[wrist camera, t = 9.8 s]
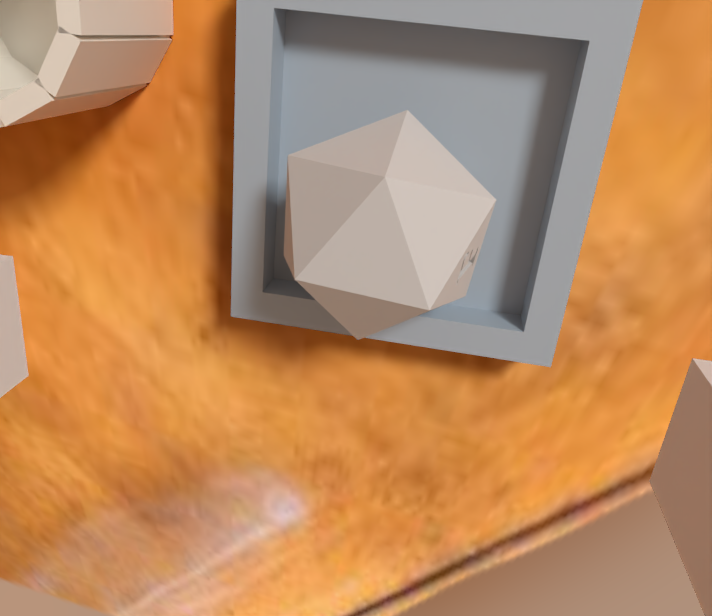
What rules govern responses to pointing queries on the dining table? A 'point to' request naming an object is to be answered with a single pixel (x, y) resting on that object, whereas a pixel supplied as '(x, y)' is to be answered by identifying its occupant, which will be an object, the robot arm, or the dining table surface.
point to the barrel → (77, 54)
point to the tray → (450, 127)
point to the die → (383, 224)
